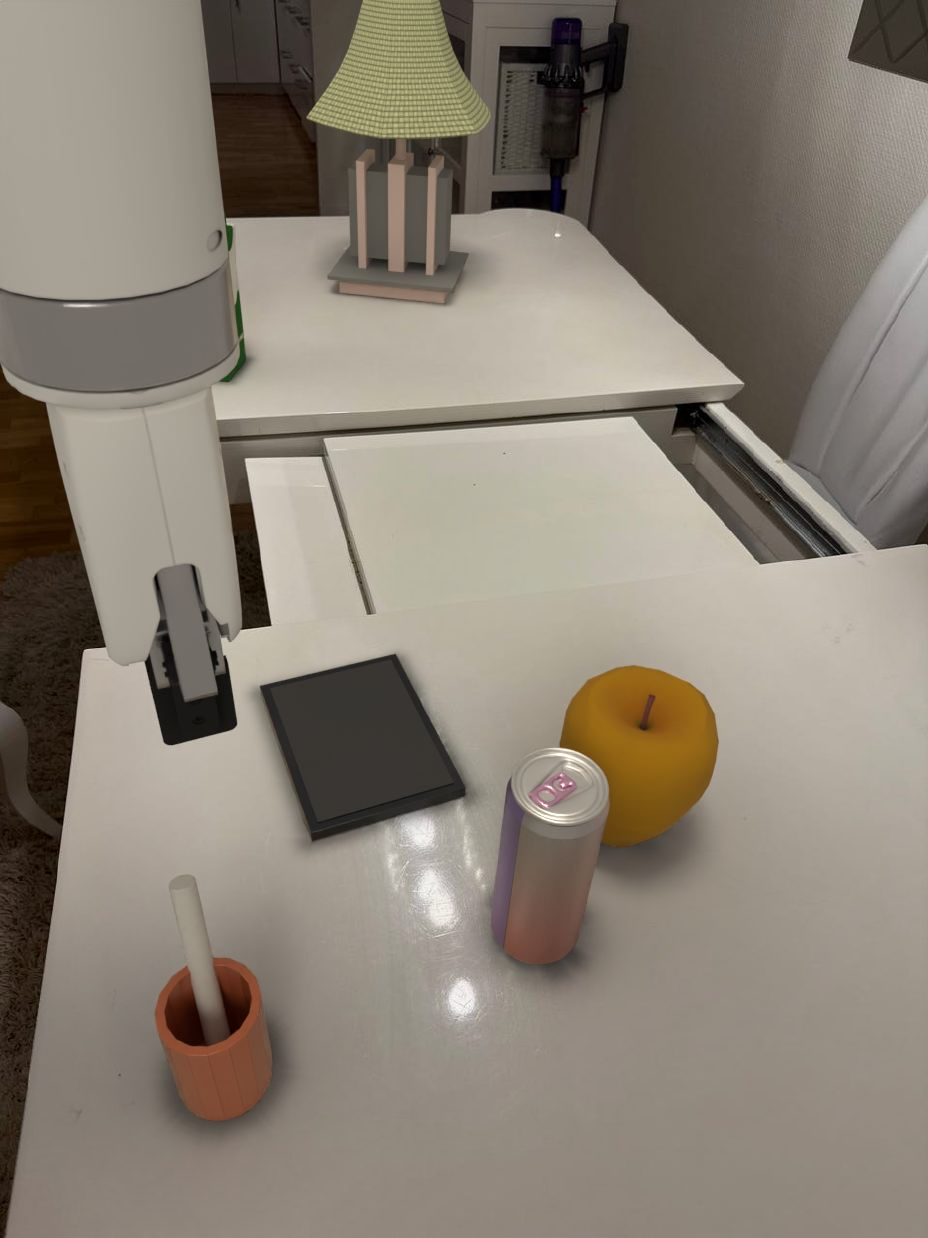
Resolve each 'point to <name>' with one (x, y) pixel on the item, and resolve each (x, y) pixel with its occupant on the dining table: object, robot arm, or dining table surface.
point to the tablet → (358, 746)
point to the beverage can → (547, 853)
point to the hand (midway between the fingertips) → (194, 710)
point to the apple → (644, 747)
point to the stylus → (199, 958)
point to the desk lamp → (400, 149)
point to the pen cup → (227, 1069)
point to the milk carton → (235, 295)
